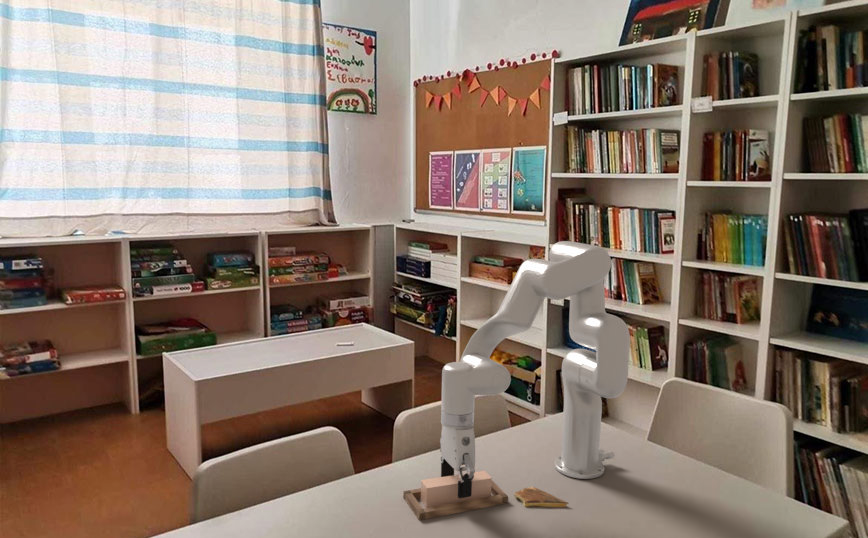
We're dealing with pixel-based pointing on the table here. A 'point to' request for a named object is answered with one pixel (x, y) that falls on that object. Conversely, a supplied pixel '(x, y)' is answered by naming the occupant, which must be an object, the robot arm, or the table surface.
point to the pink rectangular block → (453, 489)
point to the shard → (538, 498)
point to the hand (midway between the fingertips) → (455, 487)
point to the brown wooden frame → (453, 508)
